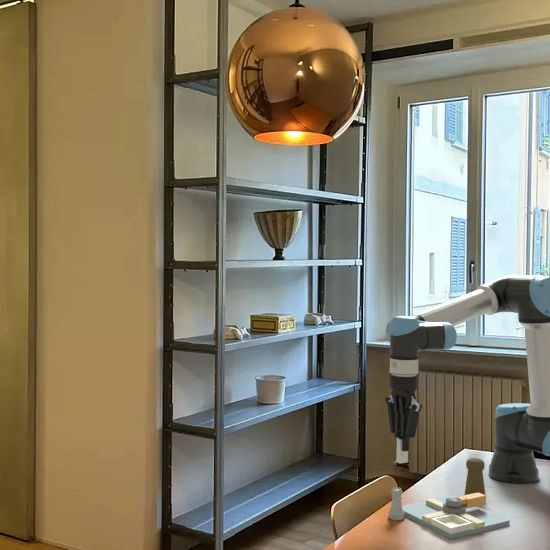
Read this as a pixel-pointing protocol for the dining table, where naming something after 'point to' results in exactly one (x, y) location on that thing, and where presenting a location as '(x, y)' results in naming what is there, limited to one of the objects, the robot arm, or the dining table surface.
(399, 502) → the rook chess piece
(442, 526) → the socket
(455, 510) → the base plate with blocks
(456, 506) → the hinged leg
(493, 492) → the dining table surface
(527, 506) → the dining table surface
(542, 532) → the dining table surface
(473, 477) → the brown pawn piece
